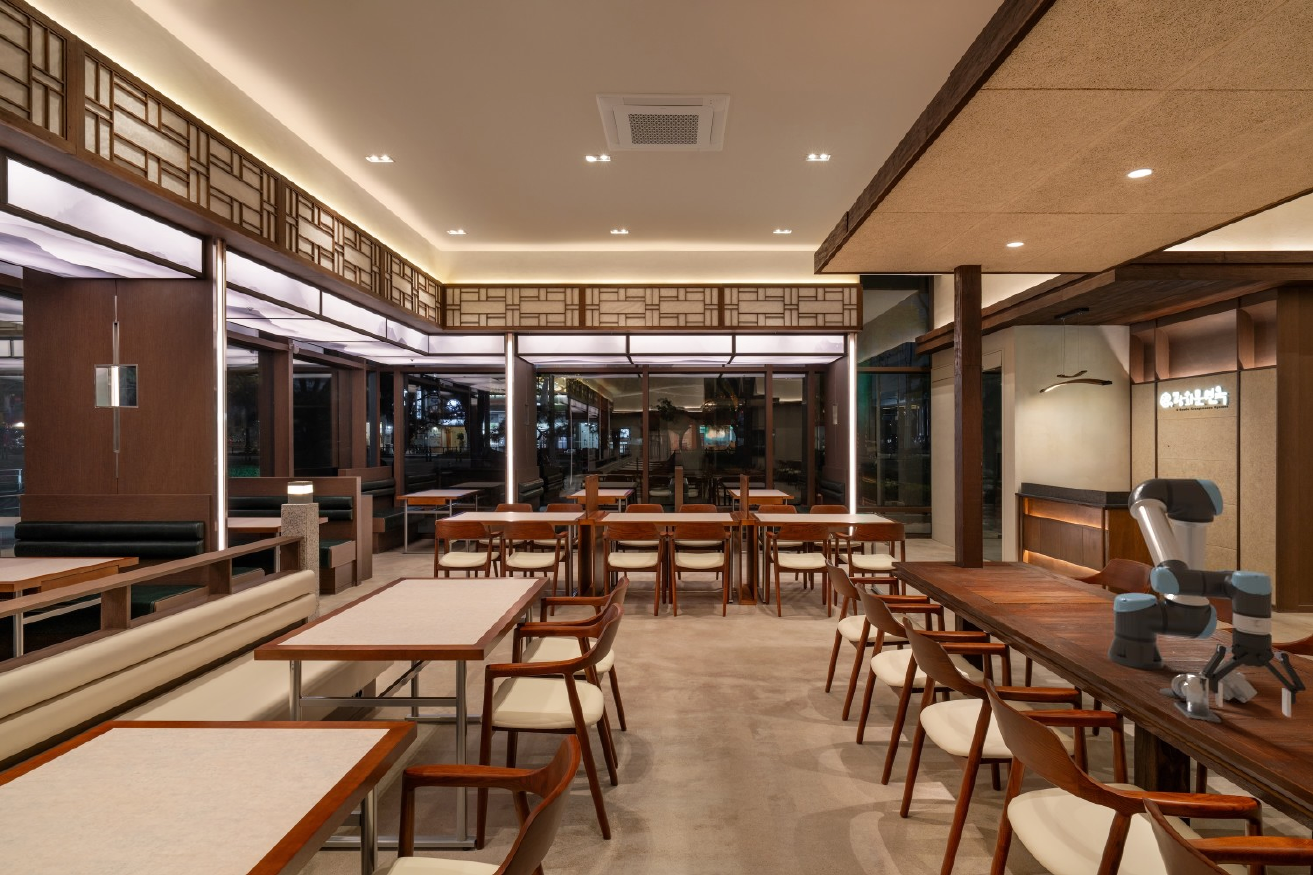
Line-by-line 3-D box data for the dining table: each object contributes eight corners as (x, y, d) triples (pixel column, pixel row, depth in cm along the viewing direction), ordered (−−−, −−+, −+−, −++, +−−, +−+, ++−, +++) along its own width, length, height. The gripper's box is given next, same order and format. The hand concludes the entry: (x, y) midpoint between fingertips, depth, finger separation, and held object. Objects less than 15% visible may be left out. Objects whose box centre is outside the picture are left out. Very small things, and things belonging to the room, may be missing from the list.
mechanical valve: (1266, 699, 174) (1236, 659, 174) (1217, 737, 174) (1187, 698, 174) (1231, 682, 185) (1202, 645, 184) (1185, 719, 185) (1156, 682, 184)
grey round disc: (1157, 690, 187) (1157, 687, 187) (1181, 693, 185) (1181, 690, 185) (1163, 697, 182) (1163, 694, 182) (1188, 701, 179) (1188, 698, 179)
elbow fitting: (1170, 702, 178) (1170, 664, 178) (1200, 706, 175) (1200, 668, 175) (1188, 719, 167) (1188, 679, 167) (1220, 723, 165) (1220, 682, 165)
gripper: (1196, 628, 164) (1196, 706, 164) (1323, 641, 153) (1324, 725, 153) (1187, 620, 171) (1187, 695, 171) (1308, 632, 160) (1308, 713, 160)
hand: (1252, 710), depth 162 cm, fingers open, 13 cm apart
